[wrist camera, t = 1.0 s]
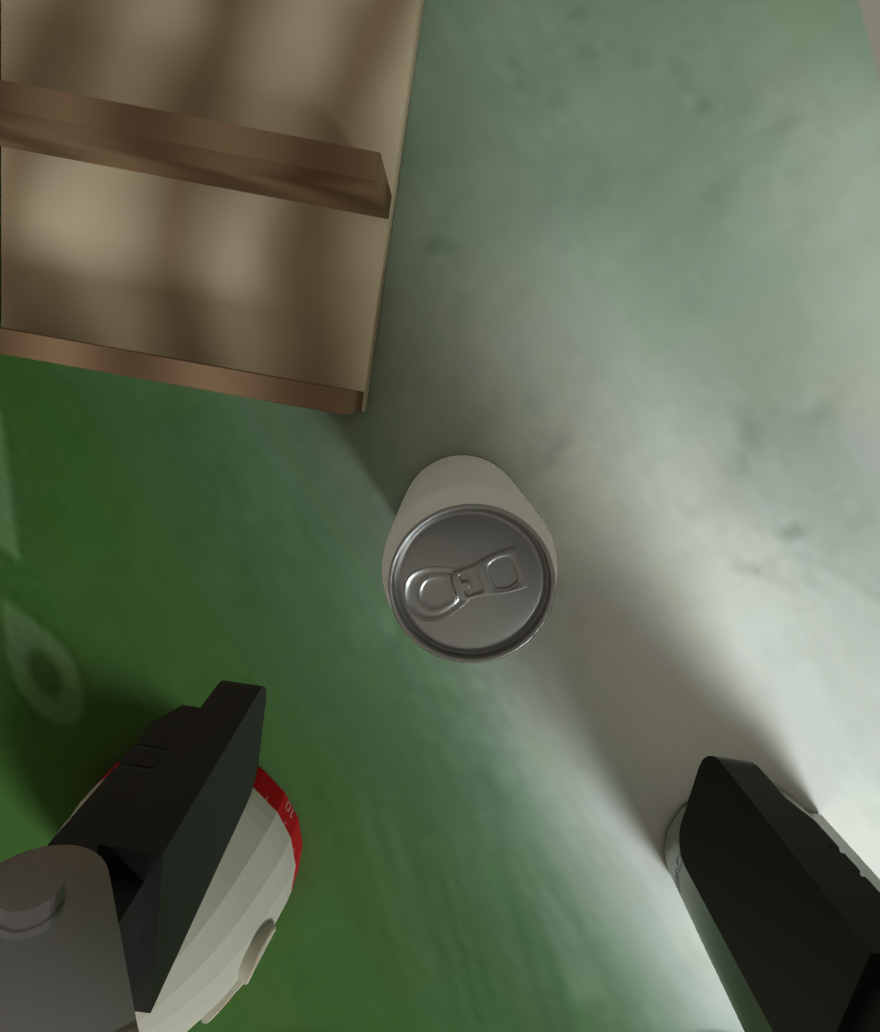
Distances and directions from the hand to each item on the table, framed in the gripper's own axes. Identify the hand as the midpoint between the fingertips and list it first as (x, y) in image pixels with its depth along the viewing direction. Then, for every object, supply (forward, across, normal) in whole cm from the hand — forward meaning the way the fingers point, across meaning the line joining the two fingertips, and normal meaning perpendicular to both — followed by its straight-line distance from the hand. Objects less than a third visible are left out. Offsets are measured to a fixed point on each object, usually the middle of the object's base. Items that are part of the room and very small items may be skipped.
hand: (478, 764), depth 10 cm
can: (+21, -1, 0) cm, 21 cm away
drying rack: (+21, +14, -14) cm, 29 cm away
